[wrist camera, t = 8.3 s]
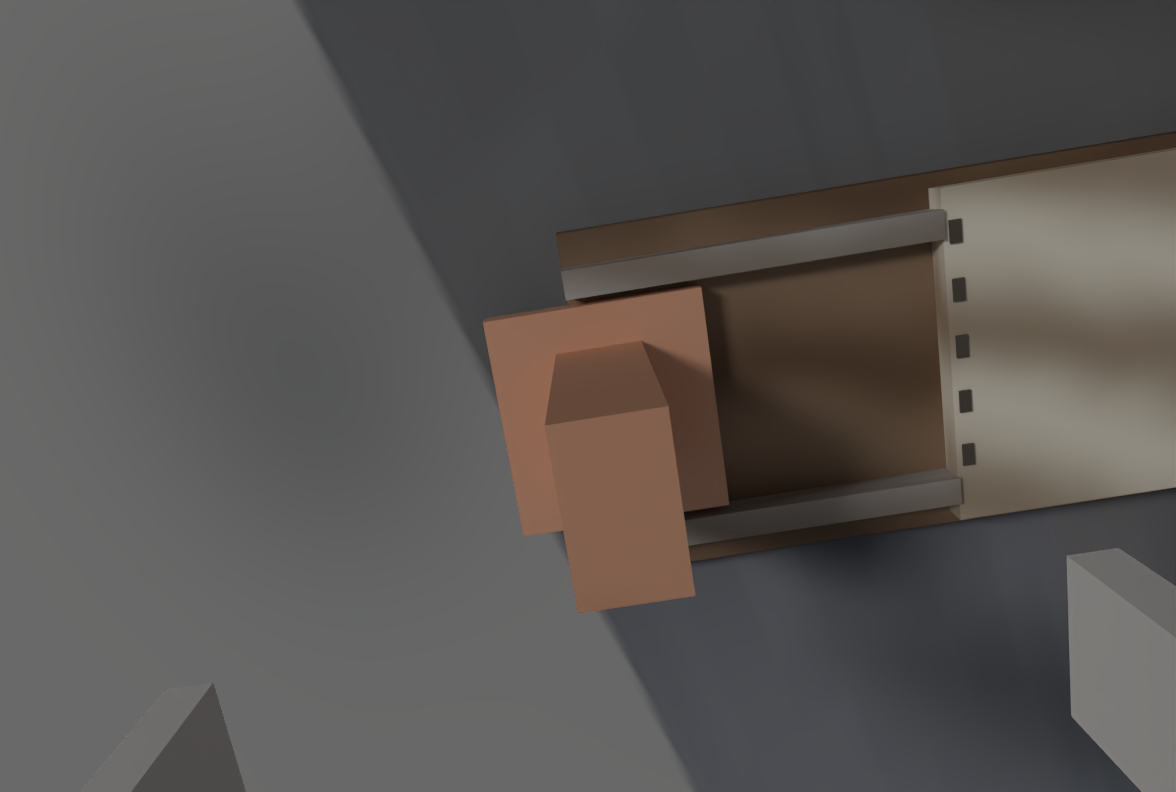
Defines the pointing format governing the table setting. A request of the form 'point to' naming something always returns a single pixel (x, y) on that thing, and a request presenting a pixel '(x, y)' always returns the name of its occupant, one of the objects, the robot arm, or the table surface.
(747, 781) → the table surface
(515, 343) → the stub
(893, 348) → the board
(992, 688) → the table surface
